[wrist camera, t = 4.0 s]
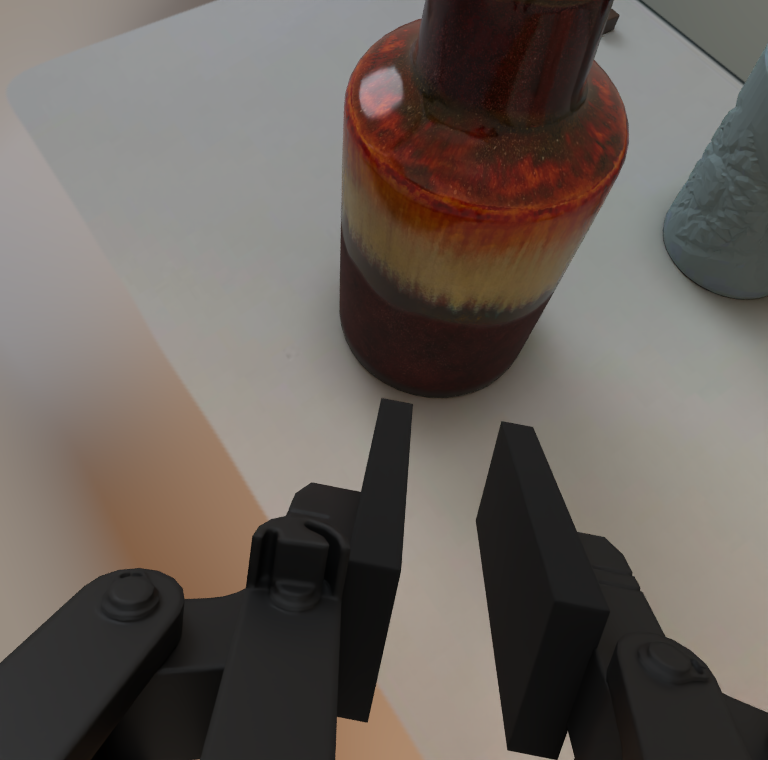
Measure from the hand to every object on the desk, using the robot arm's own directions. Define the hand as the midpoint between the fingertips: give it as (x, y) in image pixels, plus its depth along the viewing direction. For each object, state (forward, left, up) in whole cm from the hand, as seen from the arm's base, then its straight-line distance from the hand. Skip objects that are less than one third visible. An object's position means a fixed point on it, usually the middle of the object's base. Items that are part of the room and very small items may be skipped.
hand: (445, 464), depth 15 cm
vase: (-4, +14, -16) cm, 22 cm away
